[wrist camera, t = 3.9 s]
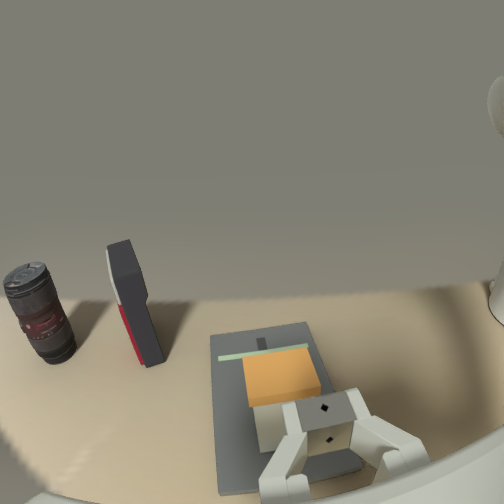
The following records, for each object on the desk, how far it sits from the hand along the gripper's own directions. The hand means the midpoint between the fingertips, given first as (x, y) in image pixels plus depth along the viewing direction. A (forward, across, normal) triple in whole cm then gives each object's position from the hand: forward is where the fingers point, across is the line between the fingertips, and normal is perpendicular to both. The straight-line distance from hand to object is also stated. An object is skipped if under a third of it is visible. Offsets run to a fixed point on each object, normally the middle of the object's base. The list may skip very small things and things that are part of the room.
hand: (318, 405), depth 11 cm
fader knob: (+12, +1, +18) cm, 22 cm away
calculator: (+30, +18, +17) cm, 40 cm away
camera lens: (+29, +34, +17) cm, 48 cm away
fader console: (+18, +1, +19) cm, 26 cm away
